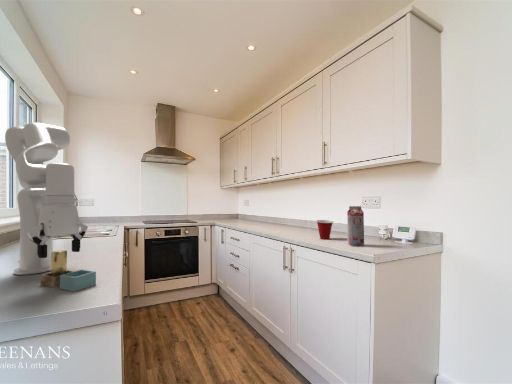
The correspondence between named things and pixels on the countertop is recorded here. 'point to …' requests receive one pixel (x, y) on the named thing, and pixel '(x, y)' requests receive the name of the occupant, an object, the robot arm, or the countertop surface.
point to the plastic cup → (324, 228)
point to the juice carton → (355, 226)
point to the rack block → (77, 280)
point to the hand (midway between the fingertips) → (60, 254)
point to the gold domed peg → (58, 263)
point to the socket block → (51, 280)
